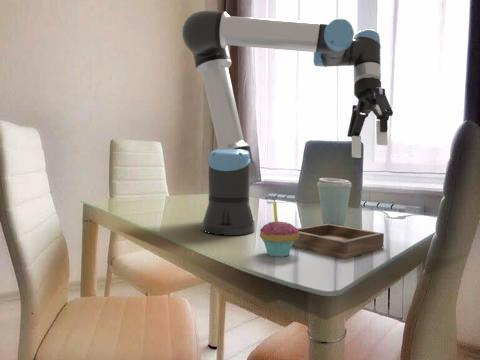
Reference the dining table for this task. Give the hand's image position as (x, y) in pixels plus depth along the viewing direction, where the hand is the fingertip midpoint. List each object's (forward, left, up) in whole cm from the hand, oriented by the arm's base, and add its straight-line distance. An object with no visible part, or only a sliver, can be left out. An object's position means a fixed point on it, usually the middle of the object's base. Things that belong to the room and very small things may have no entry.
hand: (368, 151), depth 101 cm
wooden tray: (+4, -21, -23) cm, 32 cm away
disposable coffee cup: (-13, +2, -24) cm, 27 cm away
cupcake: (+1, -37, -24) cm, 44 cm away
